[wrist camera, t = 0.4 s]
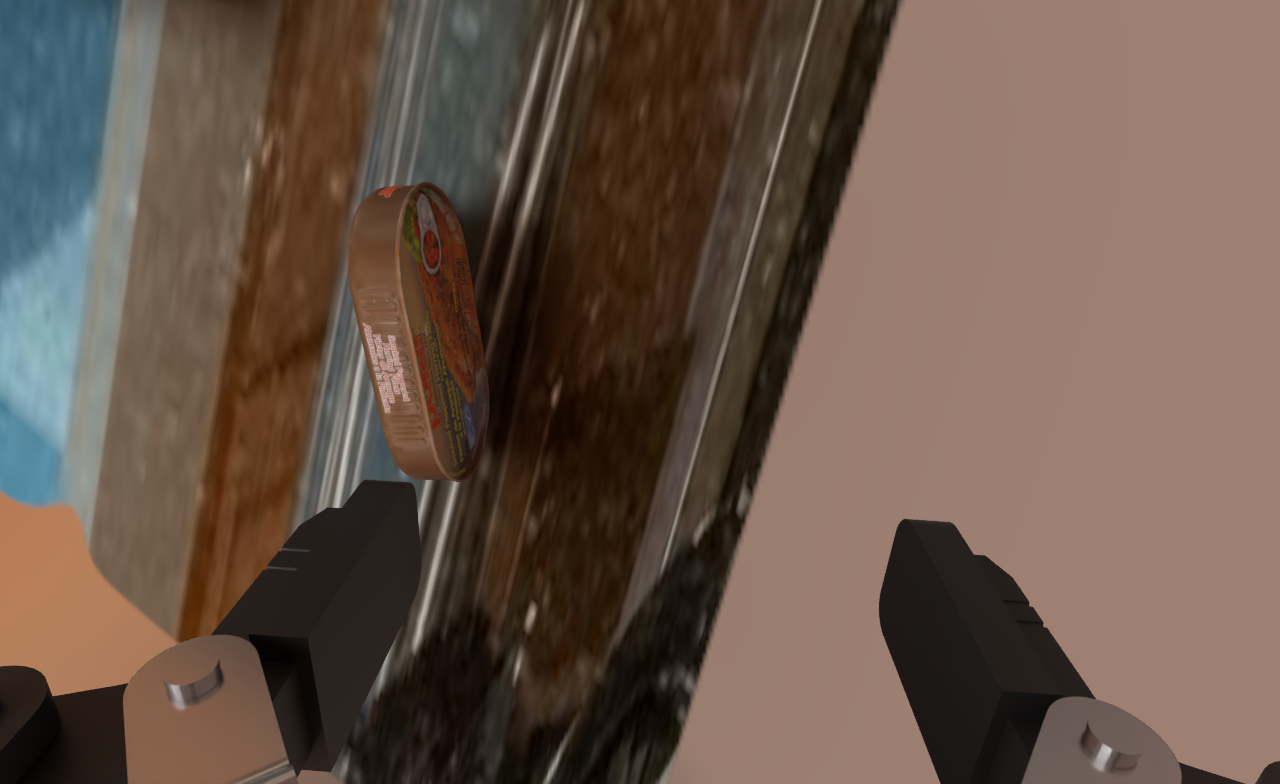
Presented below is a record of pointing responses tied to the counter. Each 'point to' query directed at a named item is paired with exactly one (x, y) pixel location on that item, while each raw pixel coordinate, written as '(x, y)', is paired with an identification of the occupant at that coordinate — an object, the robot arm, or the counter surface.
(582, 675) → the counter surface
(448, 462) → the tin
